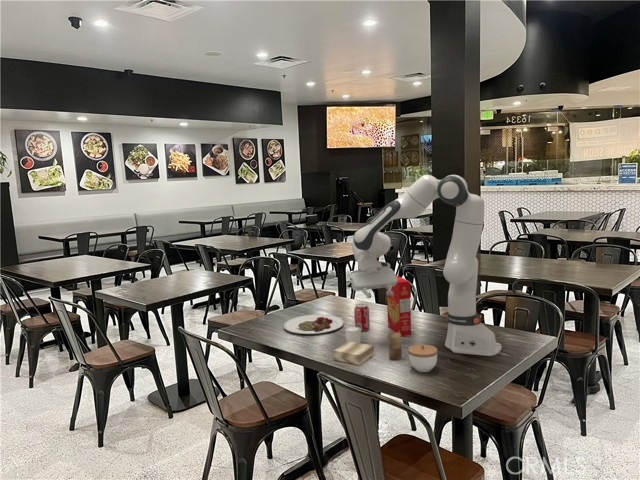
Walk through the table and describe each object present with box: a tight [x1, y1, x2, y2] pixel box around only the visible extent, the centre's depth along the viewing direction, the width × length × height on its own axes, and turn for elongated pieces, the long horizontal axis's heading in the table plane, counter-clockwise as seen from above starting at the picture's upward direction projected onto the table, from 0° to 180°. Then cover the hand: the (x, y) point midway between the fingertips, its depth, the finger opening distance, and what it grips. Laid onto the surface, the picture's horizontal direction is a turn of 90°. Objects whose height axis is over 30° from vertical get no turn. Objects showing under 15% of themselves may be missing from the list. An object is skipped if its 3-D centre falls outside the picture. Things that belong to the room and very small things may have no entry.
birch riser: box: [333, 341, 375, 366], centre depth 194 cm, size 12×12×4 cm
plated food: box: [283, 313, 345, 335], centre depth 237 cm, size 30×30×3 cm
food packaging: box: [386, 274, 412, 337], centre depth 222 cm, size 15×5×25 cm, turn 14°
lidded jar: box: [407, 343, 438, 373], centre depth 179 cm, size 11×11×9 cm
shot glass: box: [344, 326, 362, 343], centre depth 209 cm, size 7×7×7 cm
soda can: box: [353, 303, 371, 332], centre depth 228 cm, size 7×7×12 cm
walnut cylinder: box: [387, 331, 403, 361], centre depth 191 cm, size 5×5×10 cm
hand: (379, 296), depth 200 cm, fingers open, 8 cm apart
